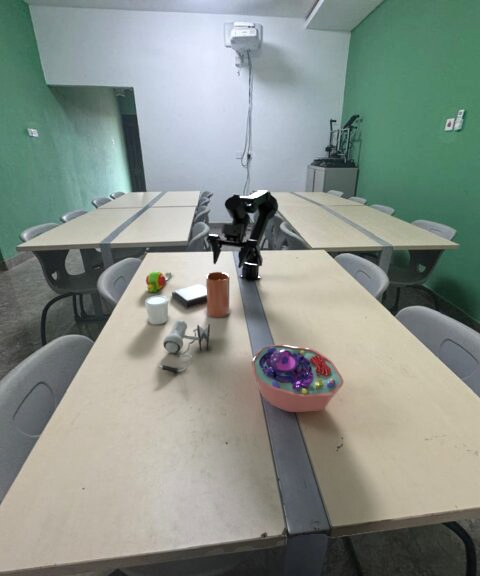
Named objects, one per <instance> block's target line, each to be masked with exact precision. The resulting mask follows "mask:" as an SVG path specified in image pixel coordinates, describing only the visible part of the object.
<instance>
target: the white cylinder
mask: <svg viewBox="0 0 480 576" xmlns="http://www.w3.org/2000/svg"><path fill="white" fill-rule="evenodd" d="M144 305H145V309H146V313H147V317H148V322H149V324H151V325H162V324H165V323H167V322H168V319H169V299H168V297H167V296H164V295H153V296H150V297H147V298H145V299H144Z"/></svg>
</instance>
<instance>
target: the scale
mask: <svg viewBox="0 0 480 576" xmlns="http://www.w3.org/2000/svg"><path fill="white" fill-rule="evenodd" d="M171 297H172V298H173V299H174V300H176V301H177V302H178V303H180V304H181V305H182V306H184V307H185V308H186V309H189V308H193V307H196V306H199V305H202V304H205V303H207V293H206V286H204V285H202V284H200V283H199V284H195V285H191V286H187V287H184V288H180V289H175V290H174V291H171Z"/></svg>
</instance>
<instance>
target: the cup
mask: <svg viewBox="0 0 480 576" xmlns="http://www.w3.org/2000/svg"><path fill="white" fill-rule="evenodd" d="M205 287H206V293H207V302H206V312H207V315H208V316H209V317H211V318H224V317H227V316H228V315H229V314H230V275H229V274H228V273H226V272H223V271H222V272H221V271H213V272H209V273H208V274H206V276H205Z"/></svg>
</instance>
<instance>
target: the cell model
mask: <svg viewBox="0 0 480 576" xmlns="http://www.w3.org/2000/svg"><path fill="white" fill-rule="evenodd" d="M251 367H252V376H253V377H254V380H256V384H257V387H258V390H259V393H260V394H261V396H263V398H264V399H265V400H266V401H267V403H269V404H270V405H271V406H273V407H276V408H278V409H280V410H283V411H285V412H289V413H306V412H307V413H308V412H317V411H322V410H324V409H326V407H327V406H328V405H329V403H330V402H331V400H332V399H333V398H334V397H335V396H336V395H337V393H338V392H339V391H340V390H341V388H342V387H343V385H344V379H343V376H342V374H341V373H340V372H339V369H338V368H337V367H336V366H335V364H334V362H333V361H332V360H331V359H329V358H328V357H327V356H325V355H323V354H322V353H320V352H319V351H317V350H315V349H313V348H310V347H303V346H302V347H300V346H292V345H287V344H273V345H268V346H264V347H262V348H260V349H259V350H258V351H257V352H256V353H255V355H254V356H253V357H252V359H251Z"/></svg>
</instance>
